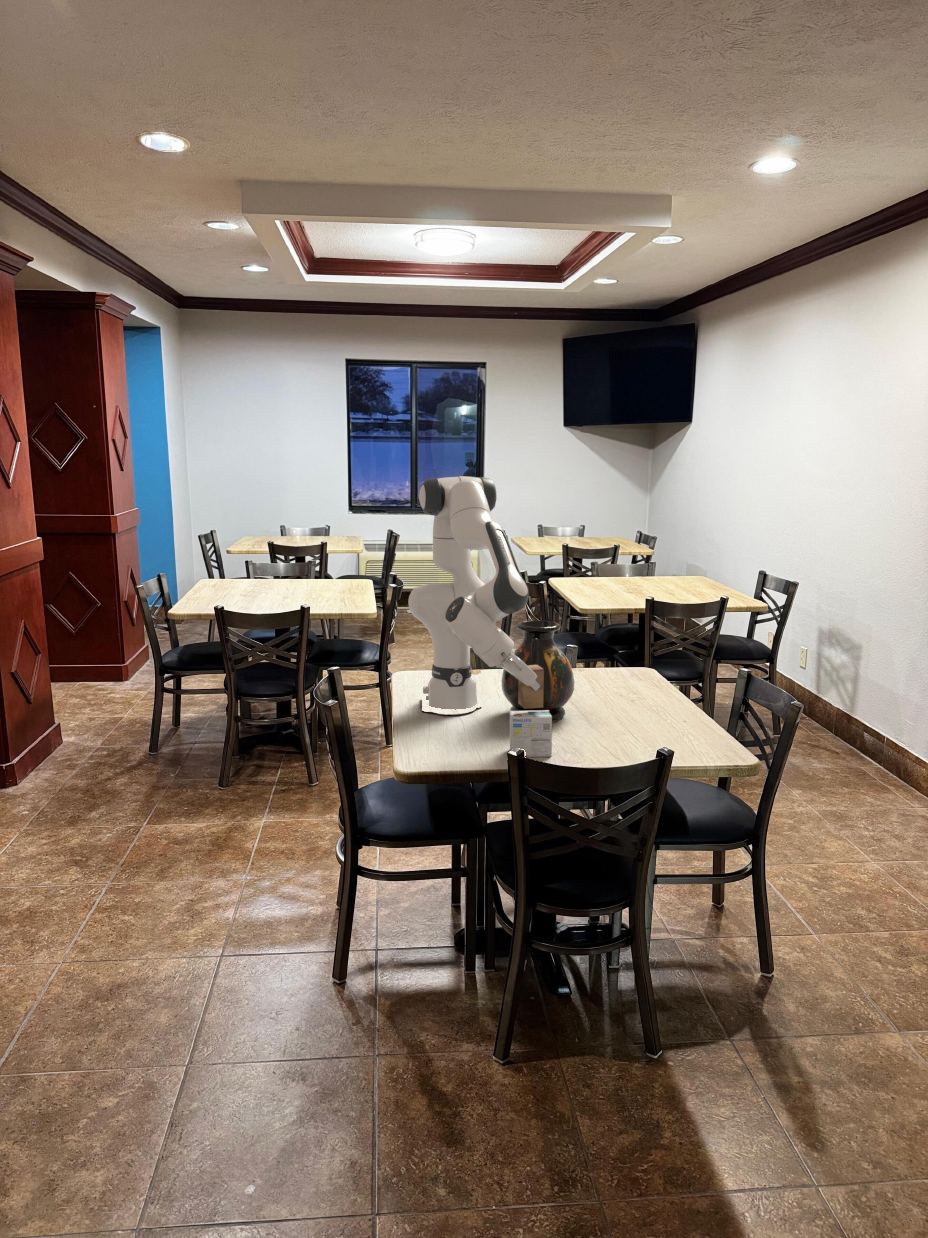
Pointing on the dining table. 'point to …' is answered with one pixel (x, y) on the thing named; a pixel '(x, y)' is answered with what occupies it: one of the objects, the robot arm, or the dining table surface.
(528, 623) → the dark painted vase
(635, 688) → the dining table surface
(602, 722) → the dining table surface
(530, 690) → the walnut block
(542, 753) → the light bulb box
